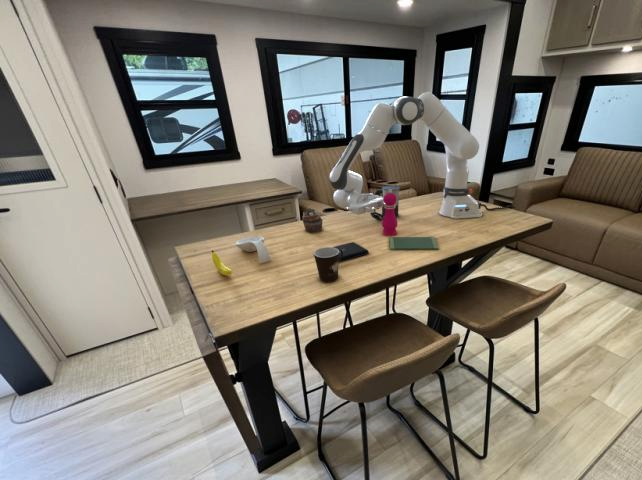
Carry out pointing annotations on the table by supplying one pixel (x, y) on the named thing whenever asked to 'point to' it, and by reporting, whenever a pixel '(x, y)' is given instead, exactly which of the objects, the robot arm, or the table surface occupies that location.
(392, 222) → the pepper mill
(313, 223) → the cupcake
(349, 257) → the laptop
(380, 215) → the milk frother
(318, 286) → the table surface
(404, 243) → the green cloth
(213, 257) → the banana
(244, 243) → the spoon rest
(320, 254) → the coffee mug
